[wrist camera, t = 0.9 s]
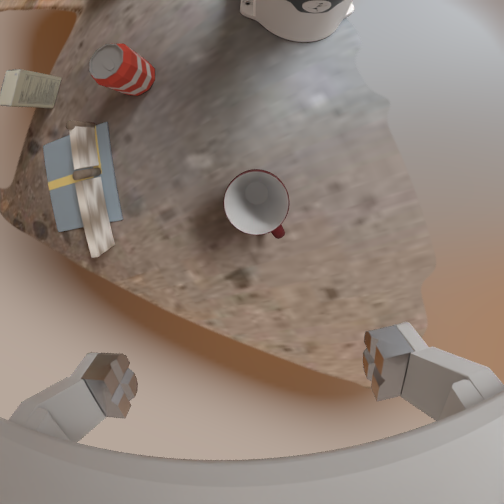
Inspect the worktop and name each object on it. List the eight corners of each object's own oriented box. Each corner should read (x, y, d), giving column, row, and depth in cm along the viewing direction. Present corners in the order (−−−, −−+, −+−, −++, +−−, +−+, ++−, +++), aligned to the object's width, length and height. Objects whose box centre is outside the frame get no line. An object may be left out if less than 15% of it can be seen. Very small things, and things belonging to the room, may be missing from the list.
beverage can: (136, 103, 40) (101, 92, 29) (115, 80, 39) (78, 64, 28) (164, 78, 39) (135, 57, 28) (142, 55, 38) (110, 32, 26)
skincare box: (47, 77, 38) (6, 68, 26) (62, 77, 38) (21, 67, 26) (38, 108, 40) (-5, 105, 28) (53, 110, 40) (10, 106, 28)
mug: (303, 208, 46) (315, 222, 36) (263, 240, 48) (265, 262, 38) (259, 156, 43) (260, 156, 34) (219, 190, 45) (209, 200, 36)
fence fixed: (88, 124, 41) (65, 122, 34) (94, 121, 41) (72, 119, 34) (95, 176, 44) (73, 181, 37) (101, 174, 44) (80, 179, 37)
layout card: (44, 145, 42) (42, 145, 42) (107, 122, 41) (106, 121, 41) (59, 231, 48) (58, 232, 47) (123, 219, 47) (121, 219, 46)
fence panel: (94, 178, 44) (74, 182, 38) (101, 176, 44) (81, 180, 38) (108, 245, 48) (91, 257, 42) (115, 244, 47) (98, 256, 41)
